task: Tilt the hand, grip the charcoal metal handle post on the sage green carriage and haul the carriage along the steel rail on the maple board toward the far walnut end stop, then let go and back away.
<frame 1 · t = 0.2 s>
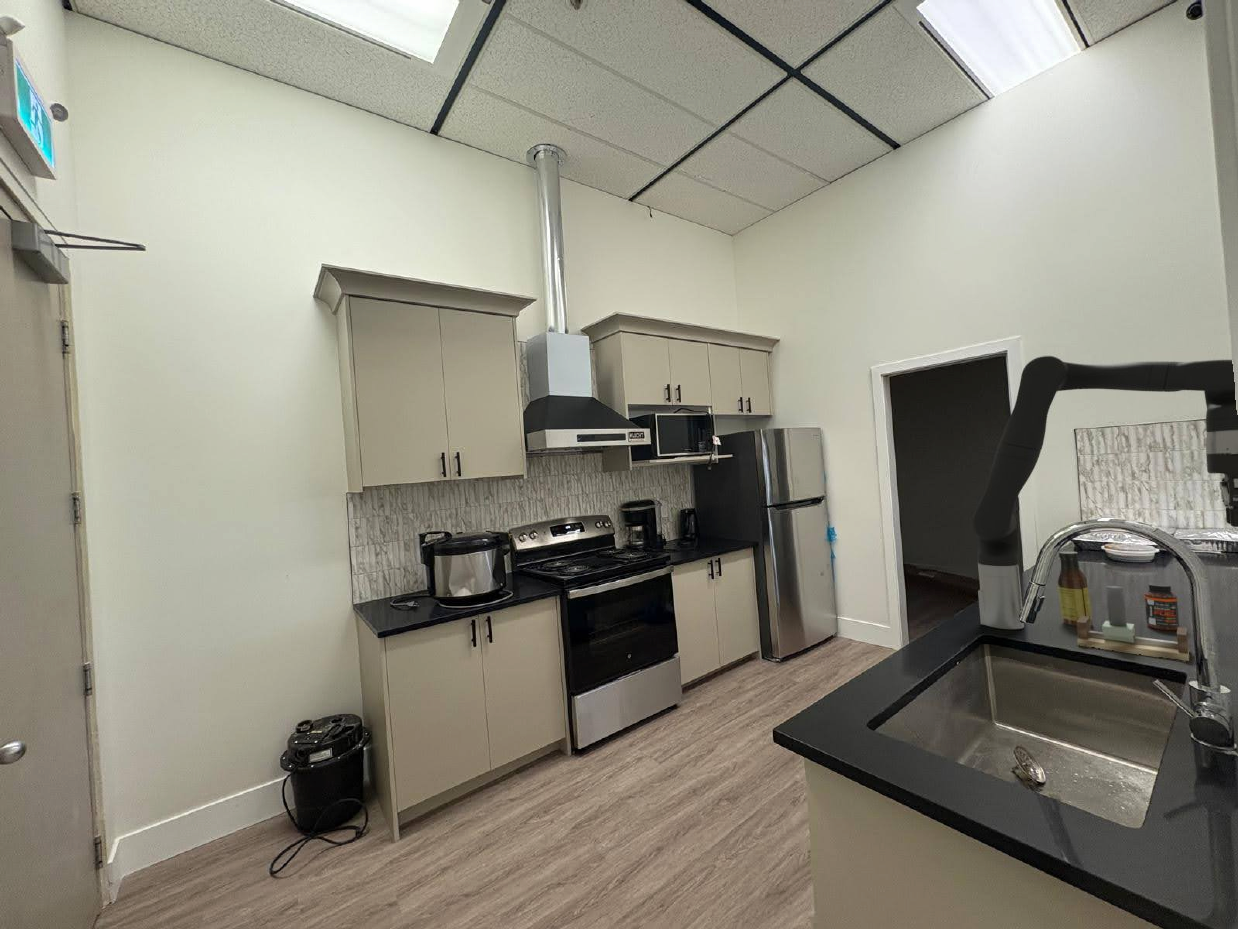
hand: (1236, 525, 112), 29 cm above the worktop, tool pointing down, fingers open, 8 cm apart
supplement bottle: (1163, 628, 133), on the worktop
carriage: (1116, 612, 122), point 8 cm above the worktop, slide at -2.0 cm
rail board: (1132, 648, 120), on the worktop
sauce bottle: (1077, 625, 140), on the worktop
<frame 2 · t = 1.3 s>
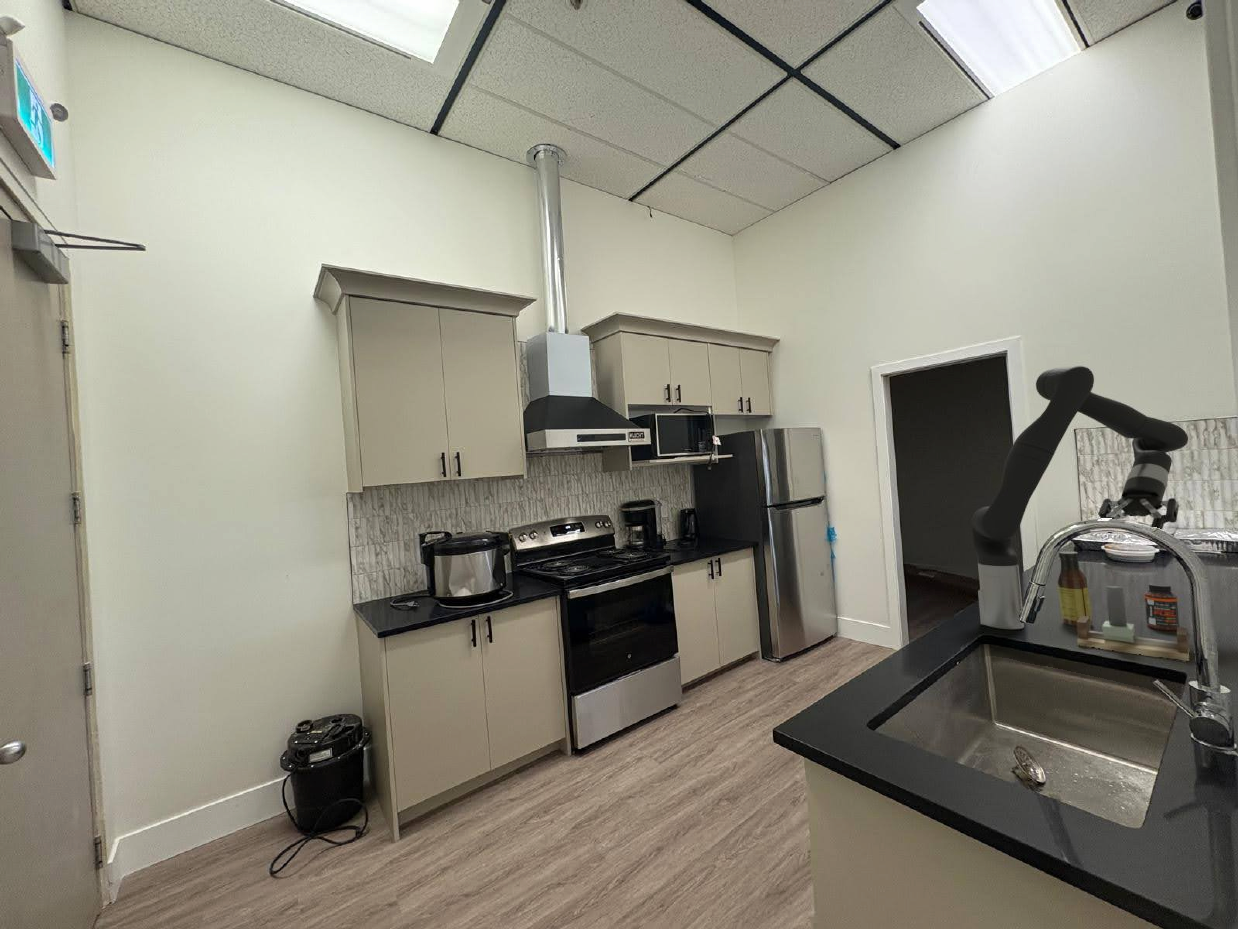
hand: (1130, 532, 129), 26 cm above the worktop, tool tilted 45°, fingers open, 8 cm apart
nothing on the worktop moved.
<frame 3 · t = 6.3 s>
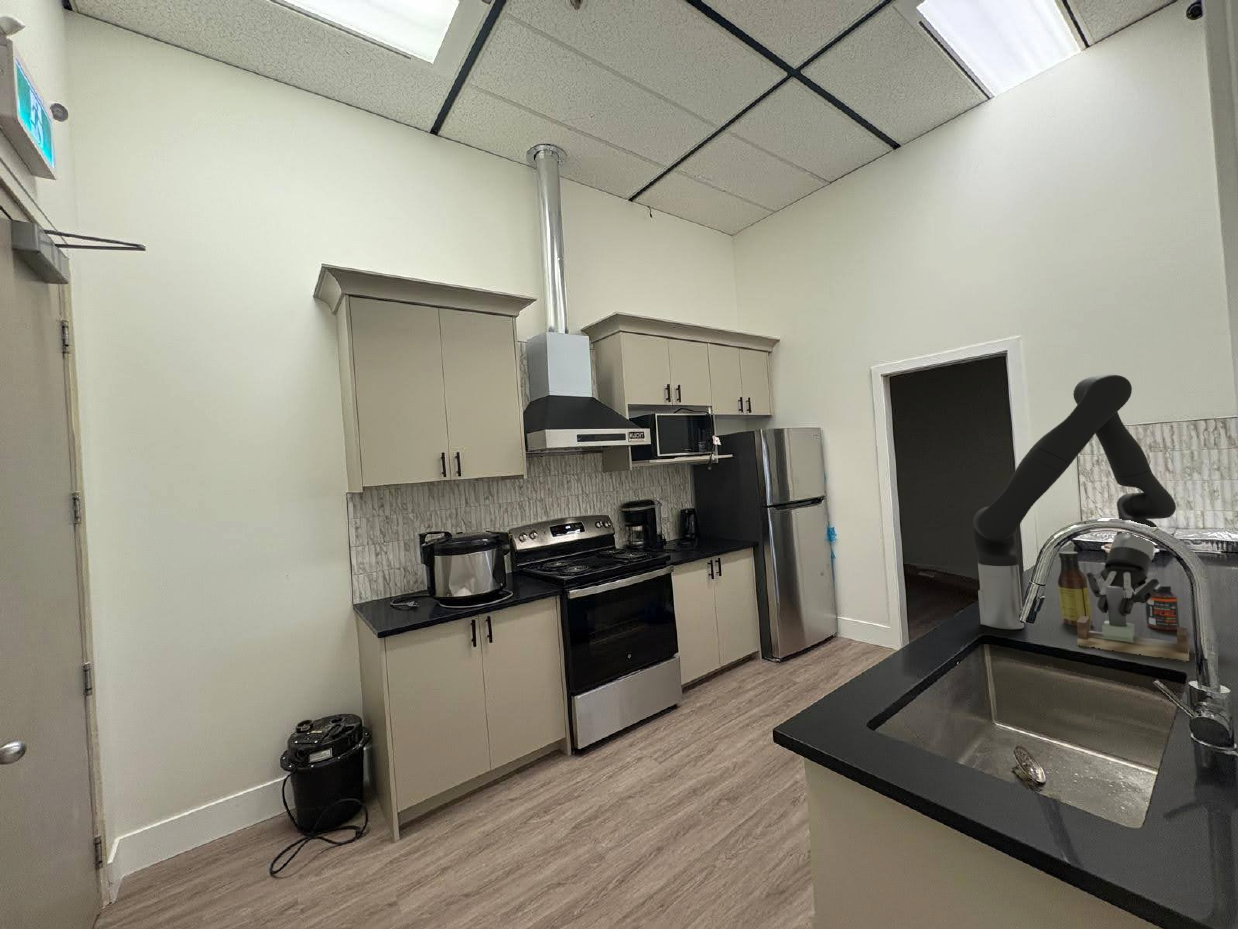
hand: (1112, 612, 121), 8 cm above the worktop, tool tilted 45°, fingers closed on carriage, 3 cm apart
carriage: (1116, 612, 122), point 8 cm above the worktop, slide at -2.0 cm, touching gripper
everything else where it was.
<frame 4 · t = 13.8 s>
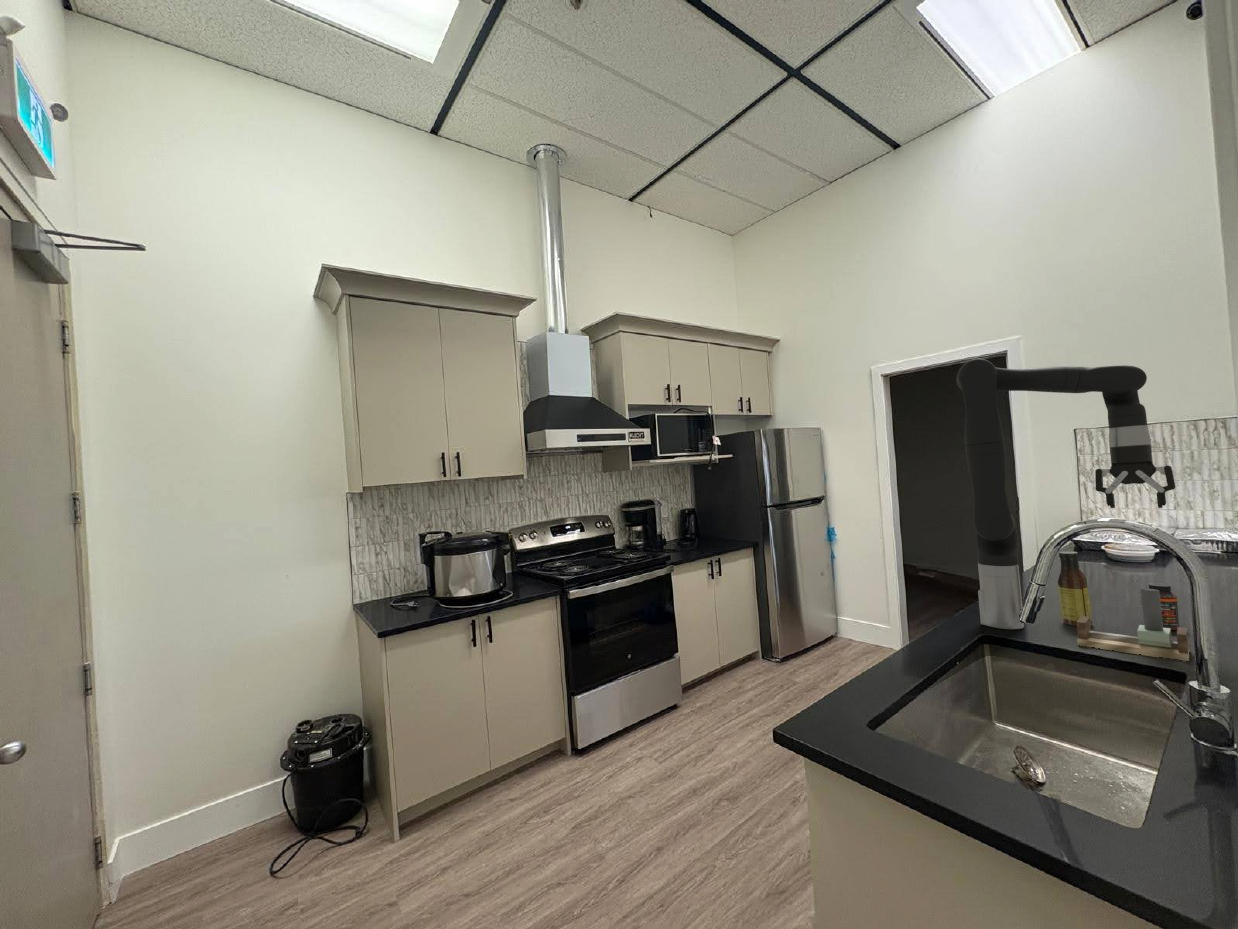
hand: (1136, 507, 130), 32 cm above the worktop, tool pointing down, fingers open, 8 cm apart
carriage: (1152, 616, 117), point 8 cm above the worktop, slide at 3.9 cm
everything else where it was.
at the end: carriage slide at 3.9 cm; the gripper is holding nothing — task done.
